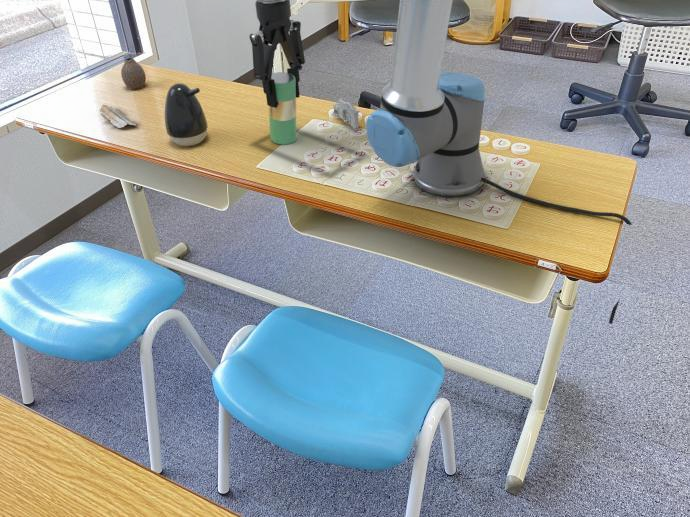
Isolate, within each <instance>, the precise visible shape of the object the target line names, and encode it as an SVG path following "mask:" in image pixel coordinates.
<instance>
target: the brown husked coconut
mask: <svg viewBox="0 0 690 517" xmlns="http://www.w3.org/2000/svg"><path fill="white" fill-rule="evenodd" d="M120 74H121V75H120V76H121V80H122V82H123V83H124V86H126V87H127V88H128V89H129V90H140V89H142V88H143V87H144V86H145V84H146V80H147V76H146V71H145V70H144V68H143V67H142V66H141V64H139V63H138V62H137V61H136V60H135V59H134V58H133V57H126V58H125V59H124V63H123V65H122V67H121V71H120Z"/></svg>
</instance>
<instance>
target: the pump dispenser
mask: <svg viewBox="0 0 690 517" xmlns="http://www.w3.org/2000/svg"><path fill="white" fill-rule="evenodd" d="M200 92H201V90H200V88H199V87H196V88H192V89H191V88H190V87H189V86H188V85H187V84H185V83H180V82H178V83H174V84H173V85H171V86H170V87H169V89H168V91H167V94H166V97H165V104H164V124H165V125H164V126H165V130H166V134H167V135H168V136H169V138H170V139H171V141H172V142H173V143H175V144H176V145H178V146H181V147H192V146H196V145H199V144H200V143H202V142H203V141H204V140H205V138H206V136H207V133H208V132H207V131H208V127H209V125H208V121H207V118H206V114H205V112H204V110H203V107H202V105H201V102H200V101H199V99H198V98H197V96H196V95H197V94H199V93H200Z"/></svg>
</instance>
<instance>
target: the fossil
mask: <svg viewBox="0 0 690 517" xmlns="http://www.w3.org/2000/svg"><path fill="white" fill-rule="evenodd" d="M98 111H99V113H101V114H103V116H104V117H105V118H106V119H107V120H108V121H109V122H110V123H111V124H112V125H113V126H114V127H116V128H119V129H121V128H124V127H125V126H127V125H130V126H136V127H137V124H136V123H135V122H133V121H132V120H130V119H129V118H127V117H126V116H125V115H124V114H123V113H121V112H120V111H118V110H117V109H116V108H114V107H113V106H111V105H106V104H102V105H101V107H100V108H99V110H98Z"/></svg>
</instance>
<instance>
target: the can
mask: <svg viewBox="0 0 690 517" xmlns="http://www.w3.org/2000/svg"><path fill="white" fill-rule="evenodd" d="M271 79H273V80H274V82H275V90H276V98H277V107H276V108H274V107H271V106H268V117H269V119H268V120H269V139H270V141H271V142H272V143H273V144H276V145H290V144H292V143H295V142H296V141H297V139H298V138H297V137H298V136H297V135H298V131H297V130H298V129H297V128H298V127H297V97H296V78H295V76H294V75H292V74H290V73H287V72H284V71H283V72H281V71H280V72H272V77H271Z"/></svg>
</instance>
